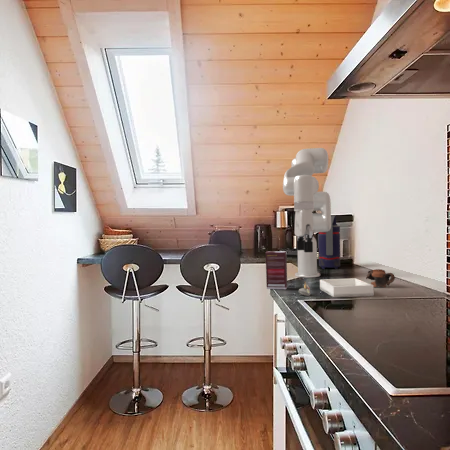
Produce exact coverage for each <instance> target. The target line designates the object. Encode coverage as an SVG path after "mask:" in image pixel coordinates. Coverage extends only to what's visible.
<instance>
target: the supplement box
mask: <svg viewBox="0 0 450 450" xmlns="http://www.w3.org/2000/svg"><path fill="white" fill-rule="evenodd" d="M287 256H288V255H287V251H285V250H283V251H281V250H279V251H275V250H273V251H271V250H270V251H268V250H266V252H265V273H266V274H265V277H266V284H265V285H266V289H267V290H287V288H288V265H287V264H288V263H287V261H288V259H287Z"/></svg>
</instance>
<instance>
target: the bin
mask: <svg viewBox="0 0 450 450" xmlns="http://www.w3.org/2000/svg"><path fill="white" fill-rule="evenodd" d="M319 290H321V291H322V292H324V293H326V294H328V295H329V296H331V297H332V298H351V297H353V298H354V297H374V290H375V289H374V287H373V285H371V283H369V282H366V281H363V280H360V279H359V278H355V277H354V278H353V277H352V278H330V279H327V278H326V279H319Z"/></svg>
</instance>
